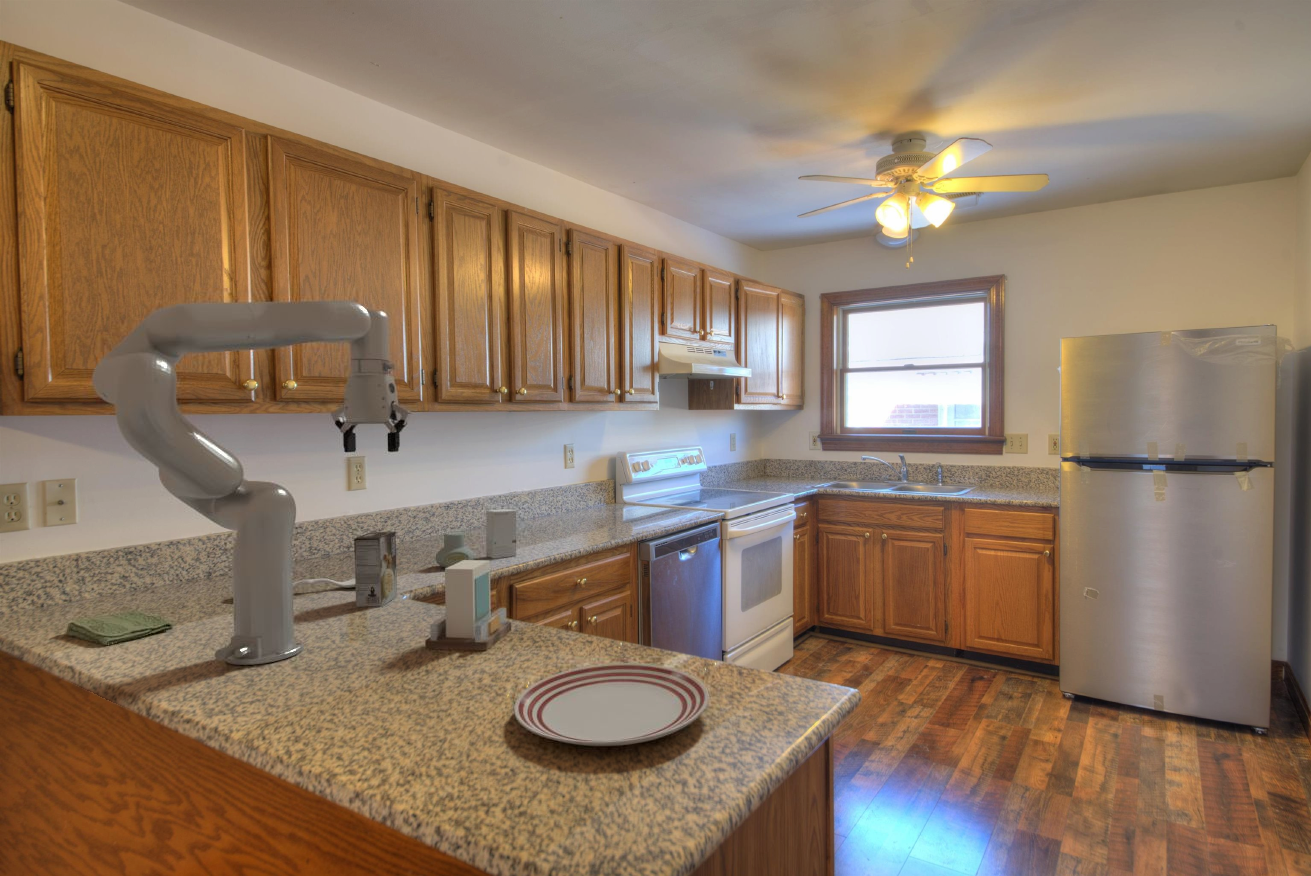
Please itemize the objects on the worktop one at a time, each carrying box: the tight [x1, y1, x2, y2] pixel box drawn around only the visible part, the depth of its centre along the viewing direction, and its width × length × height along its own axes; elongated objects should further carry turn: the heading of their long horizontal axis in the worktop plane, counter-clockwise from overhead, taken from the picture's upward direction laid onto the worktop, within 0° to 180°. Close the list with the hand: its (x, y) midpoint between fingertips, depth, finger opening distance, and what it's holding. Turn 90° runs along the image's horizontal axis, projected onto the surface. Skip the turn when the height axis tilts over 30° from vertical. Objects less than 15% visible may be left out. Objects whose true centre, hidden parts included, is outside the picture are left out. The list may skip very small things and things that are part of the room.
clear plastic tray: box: [429, 607, 507, 642], centre depth 135 cm, size 13×10×3 cm
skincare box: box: [485, 508, 517, 560], centre depth 221 cm, size 8×6×15 cm
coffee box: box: [353, 531, 398, 608], centre depth 165 cm, size 9×6×16 cm
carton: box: [444, 559, 492, 638], centre depth 135 cm, size 6×8×13 cm
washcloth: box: [65, 610, 174, 646], centre depth 142 cm, size 13×18×3 cm
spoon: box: [293, 577, 355, 589], centre depth 175 cm, size 9×32×4 cm, turn 117°
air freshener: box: [434, 531, 475, 569], centre depth 205 cm, size 11×8×10 cm
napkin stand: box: [424, 621, 512, 652], centre depth 135 cm, size 13×12×2 cm
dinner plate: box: [513, 662, 710, 747], centre depth 98 cm, size 27×27×3 cm
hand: (371, 451), depth 145 cm, fingers open, 9 cm apart
